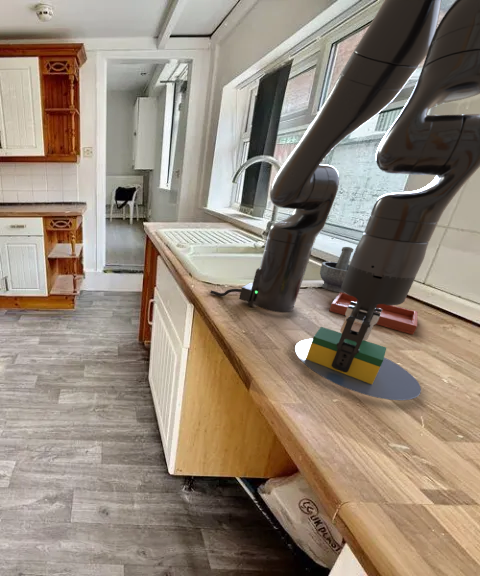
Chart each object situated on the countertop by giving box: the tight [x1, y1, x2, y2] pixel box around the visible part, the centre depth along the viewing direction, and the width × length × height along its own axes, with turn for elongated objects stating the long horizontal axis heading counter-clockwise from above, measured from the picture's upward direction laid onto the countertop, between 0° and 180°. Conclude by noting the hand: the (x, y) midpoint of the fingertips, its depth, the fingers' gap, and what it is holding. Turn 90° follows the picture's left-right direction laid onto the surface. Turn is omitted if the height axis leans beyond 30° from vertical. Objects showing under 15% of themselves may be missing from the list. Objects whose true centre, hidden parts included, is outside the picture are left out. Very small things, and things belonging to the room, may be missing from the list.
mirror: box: [294, 338, 422, 401], centre depth 53 cm, size 17×17×1 cm
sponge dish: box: [328, 292, 419, 335], centre depth 74 cm, size 15×11×2 cm
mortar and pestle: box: [319, 246, 355, 293], centre depth 90 cm, size 11×9×12 cm
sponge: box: [306, 326, 387, 384], centre depth 51 cm, size 9×6×4 cm, turn 44°
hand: (342, 361), depth 52 cm, fingers closed on sponge, 5 cm apart
